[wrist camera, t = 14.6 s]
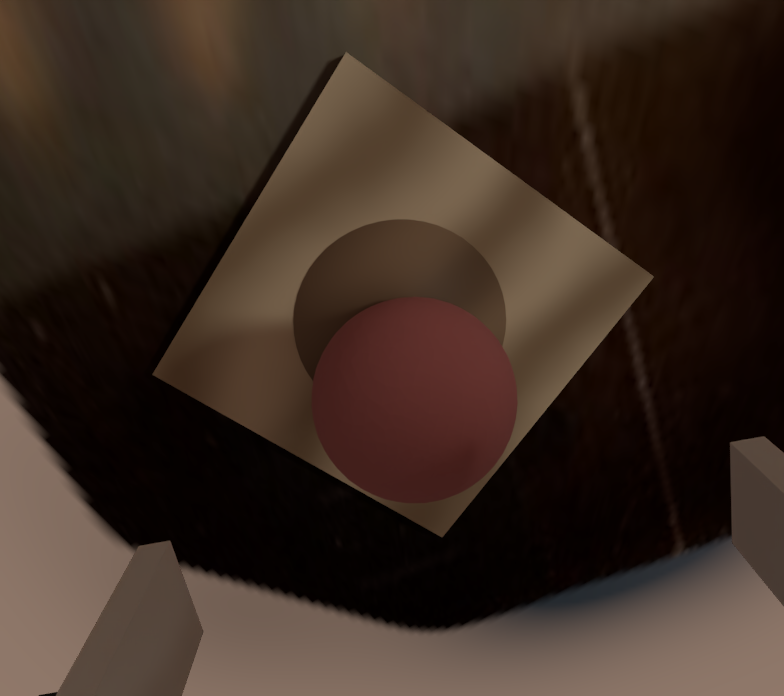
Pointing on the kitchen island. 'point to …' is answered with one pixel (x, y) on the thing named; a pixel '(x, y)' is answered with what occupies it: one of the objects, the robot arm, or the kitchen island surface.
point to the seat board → (392, 270)
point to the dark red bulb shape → (414, 400)
